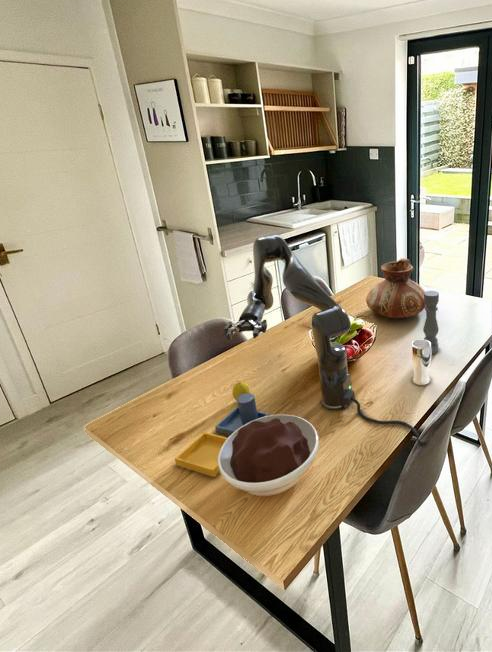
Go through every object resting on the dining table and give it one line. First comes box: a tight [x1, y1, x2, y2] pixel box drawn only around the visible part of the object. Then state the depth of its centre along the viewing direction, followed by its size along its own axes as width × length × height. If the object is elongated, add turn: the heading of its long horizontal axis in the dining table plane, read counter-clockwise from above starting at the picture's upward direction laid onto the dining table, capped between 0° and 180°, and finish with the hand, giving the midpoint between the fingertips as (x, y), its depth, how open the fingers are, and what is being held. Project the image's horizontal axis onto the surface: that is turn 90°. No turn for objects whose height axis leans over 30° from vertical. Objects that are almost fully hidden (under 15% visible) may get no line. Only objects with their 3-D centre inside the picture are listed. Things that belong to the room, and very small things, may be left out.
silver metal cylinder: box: [411, 338, 432, 386], centre depth 140 cm, size 7×7×15 cm
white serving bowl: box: [218, 413, 320, 497], centre depth 102 cm, size 25×25×15 cm
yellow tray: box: [174, 431, 228, 478], centre depth 111 cm, size 13×11×2 cm
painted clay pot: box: [365, 257, 426, 320], centre depth 193 cm, size 30×30×25 cm
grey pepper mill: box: [422, 290, 440, 355], centre depth 157 cm, size 6×6×25 cm
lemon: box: [232, 381, 251, 402], centre depth 133 cm, size 6×6×8 cm
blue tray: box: [215, 405, 270, 436], centre depth 123 cm, size 12×10×2 cm
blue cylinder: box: [236, 392, 259, 425], centre depth 123 cm, size 5×5×9 cm
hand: (241, 336), depth 137 cm, fingers open, 8 cm apart
